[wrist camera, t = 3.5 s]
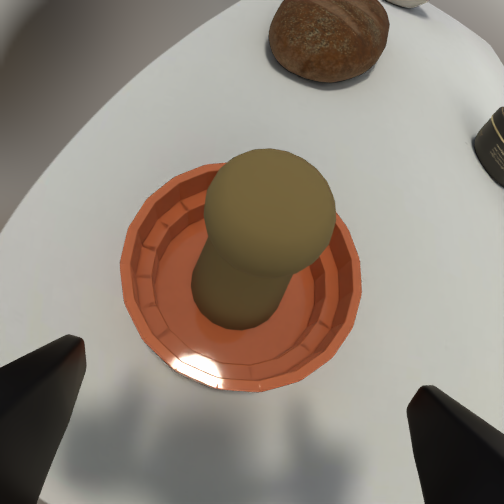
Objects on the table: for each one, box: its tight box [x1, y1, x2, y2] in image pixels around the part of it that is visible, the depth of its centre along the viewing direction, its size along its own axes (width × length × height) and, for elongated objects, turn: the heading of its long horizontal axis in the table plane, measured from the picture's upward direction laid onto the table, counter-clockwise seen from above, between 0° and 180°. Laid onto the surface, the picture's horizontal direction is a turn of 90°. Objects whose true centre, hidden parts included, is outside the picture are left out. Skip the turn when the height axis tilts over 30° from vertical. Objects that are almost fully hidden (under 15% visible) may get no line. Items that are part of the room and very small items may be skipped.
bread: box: [269, 0, 390, 82], centre depth 36 cm, size 16×36×8 cm, turn 156°
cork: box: [191, 149, 336, 331], centre depth 16 cm, size 6×6×11 cm
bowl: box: [120, 163, 362, 392], centre depth 19 cm, size 14×14×4 cm
